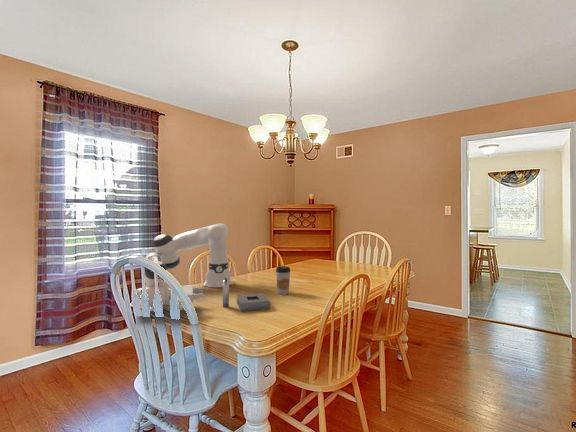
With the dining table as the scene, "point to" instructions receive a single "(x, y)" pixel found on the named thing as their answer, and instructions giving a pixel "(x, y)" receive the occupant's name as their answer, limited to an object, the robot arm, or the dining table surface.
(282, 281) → the coffee cup
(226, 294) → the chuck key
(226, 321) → the dining table surface
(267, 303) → the block
